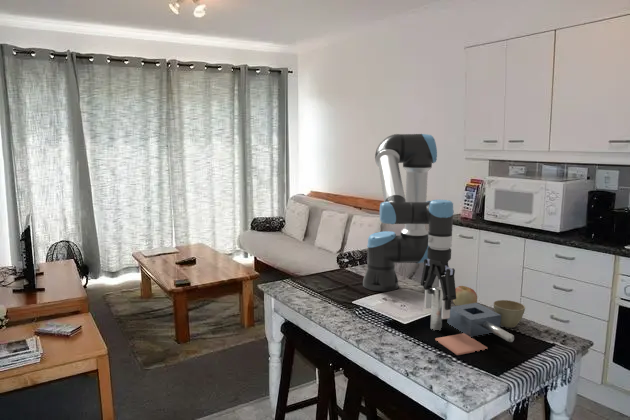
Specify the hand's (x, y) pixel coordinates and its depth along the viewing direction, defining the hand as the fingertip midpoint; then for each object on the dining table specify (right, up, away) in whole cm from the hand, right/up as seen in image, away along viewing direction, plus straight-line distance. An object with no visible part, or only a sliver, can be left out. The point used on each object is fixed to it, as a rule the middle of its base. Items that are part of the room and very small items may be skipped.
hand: (436, 312), depth 154 cm
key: (0, -5, +1) cm, 5 cm away
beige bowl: (+26, -5, +4) cm, 26 cm away
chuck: (+15, -6, -4) cm, 16 cm away
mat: (+5, -7, -11) cm, 14 cm away
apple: (+15, -3, +19) cm, 25 cm away
